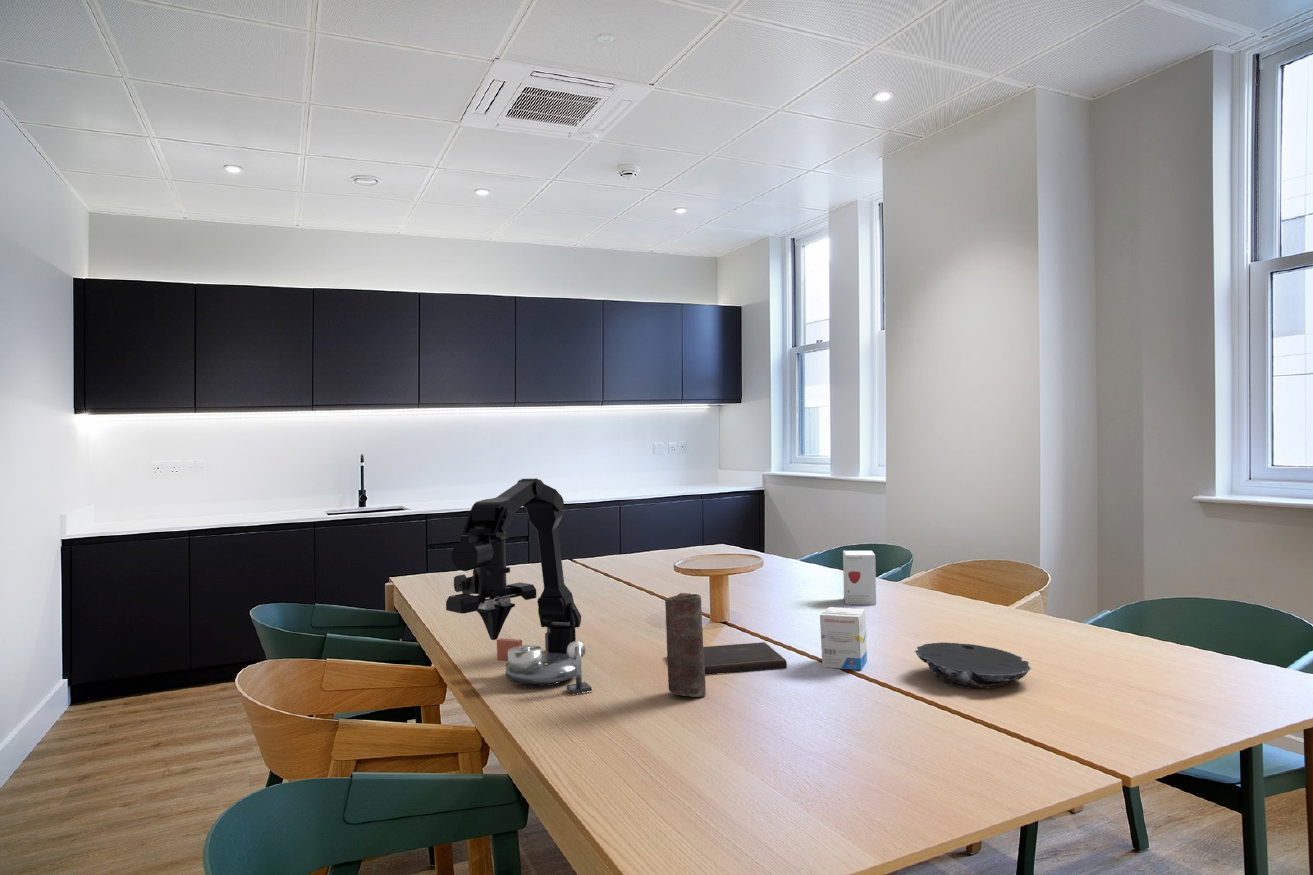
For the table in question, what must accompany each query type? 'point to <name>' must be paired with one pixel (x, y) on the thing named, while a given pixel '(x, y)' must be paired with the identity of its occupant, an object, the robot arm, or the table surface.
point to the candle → (685, 645)
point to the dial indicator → (577, 667)
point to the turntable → (552, 665)
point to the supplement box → (859, 577)
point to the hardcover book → (741, 658)
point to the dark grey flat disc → (972, 664)
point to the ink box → (843, 638)
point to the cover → (524, 659)
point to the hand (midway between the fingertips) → (493, 639)
